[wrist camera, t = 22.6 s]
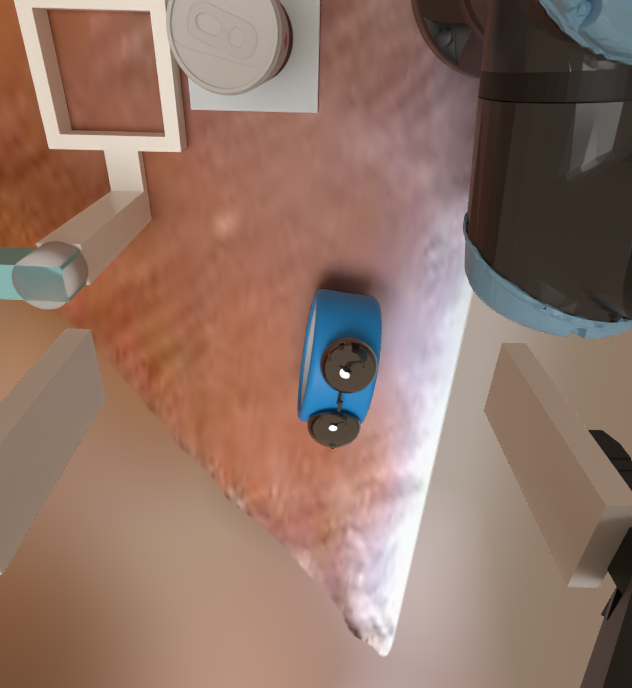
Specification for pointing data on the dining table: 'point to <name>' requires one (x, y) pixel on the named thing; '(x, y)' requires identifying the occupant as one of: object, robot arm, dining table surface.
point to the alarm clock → (339, 365)
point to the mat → (290, 84)
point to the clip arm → (42, 274)
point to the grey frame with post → (119, 146)
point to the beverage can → (229, 42)
